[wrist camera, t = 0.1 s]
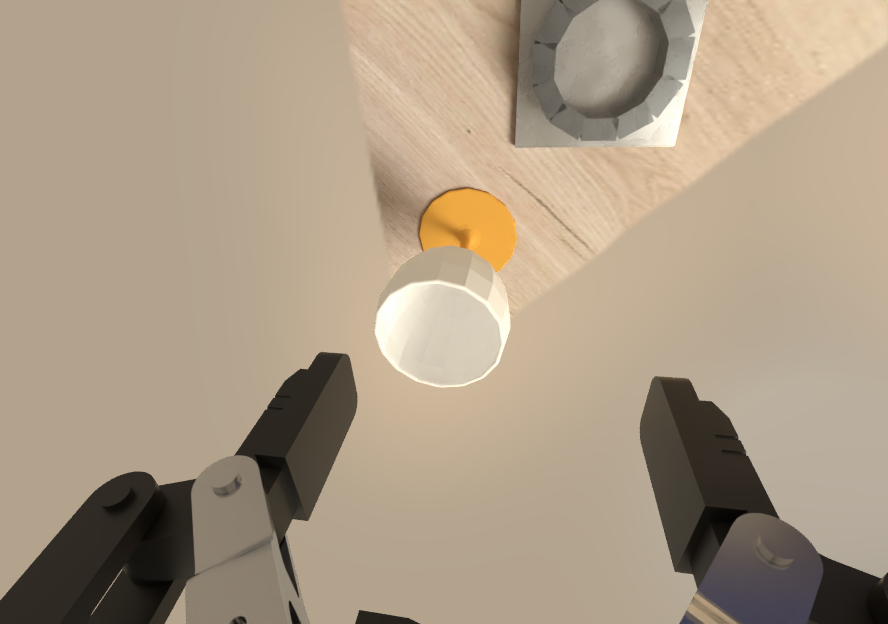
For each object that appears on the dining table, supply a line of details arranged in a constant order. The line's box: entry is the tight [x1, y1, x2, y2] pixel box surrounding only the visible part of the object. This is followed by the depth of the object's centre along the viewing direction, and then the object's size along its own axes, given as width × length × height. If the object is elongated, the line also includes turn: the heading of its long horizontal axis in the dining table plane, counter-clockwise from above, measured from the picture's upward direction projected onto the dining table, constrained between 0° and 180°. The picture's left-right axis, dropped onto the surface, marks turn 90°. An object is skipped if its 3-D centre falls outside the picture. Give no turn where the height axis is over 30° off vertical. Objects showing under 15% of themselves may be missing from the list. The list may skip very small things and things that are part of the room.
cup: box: [374, 188, 517, 387], centre depth 34 cm, size 9×9×16 cm
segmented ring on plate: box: [515, 0, 708, 148], centre depth 31 cm, size 12×12×3 cm
